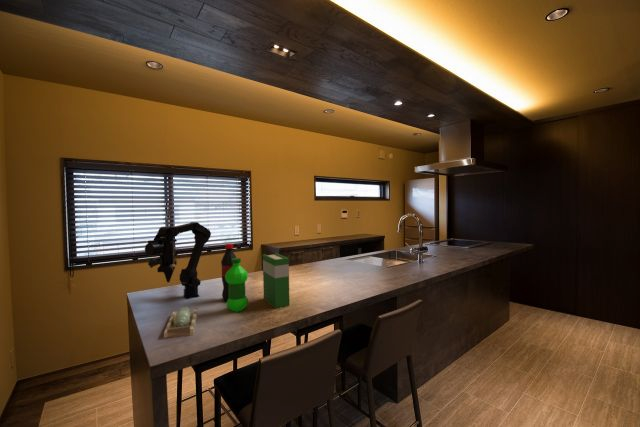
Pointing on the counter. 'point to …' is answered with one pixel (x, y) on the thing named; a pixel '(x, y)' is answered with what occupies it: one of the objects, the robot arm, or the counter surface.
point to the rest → (180, 331)
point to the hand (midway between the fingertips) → (168, 282)
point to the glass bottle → (182, 317)
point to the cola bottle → (226, 268)
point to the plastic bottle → (236, 286)
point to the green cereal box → (276, 280)
